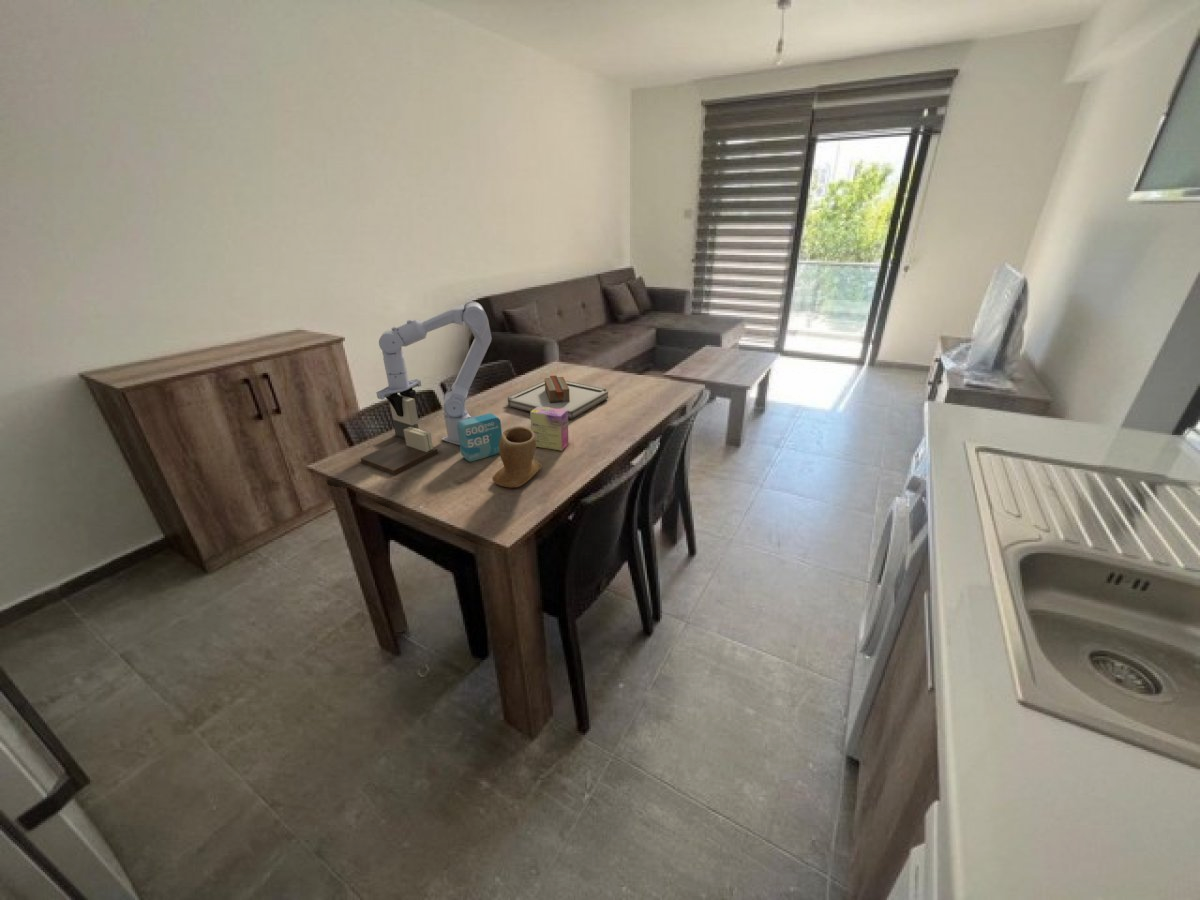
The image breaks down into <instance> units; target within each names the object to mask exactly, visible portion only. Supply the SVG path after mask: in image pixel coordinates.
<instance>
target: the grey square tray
mask: <svg viewBox="0 0 1200 900" xmlns="http://www.w3.org/2000/svg"><path fill="white" fill-rule="evenodd" d="M607 399H609V392H608V391H607V388H603V387H599V386H598V387H597V386H593V385H588V384H584V383H578V382H574V381H570V380H565V378H564V376H557V375H550V376H549V377H545V378H544V380H543V381H540V382H539V383H536V384H534V385H531V386H530V387H527V388H525V389H522V390H519V391H518V392H515V393H513V394H511V395H508V396H507V404H508V407H510V408H514V409H518V410H520V411H521V410H522V411H526V412H529V413H530V412H531V411H532V410H534V409H535V408H536V407H538V406H540V407H547V408H554V409H562V410H568V419H569V420H572V419H574V418H575V417H578V416H579V415H581V414H583V413H584V412H586V411H588V410H589V409H592V408H593V407H595V406H597V405H599V404H601V403H602V402H603V401H605V400H607Z"/></svg>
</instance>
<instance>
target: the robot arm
mask: <svg viewBox="0 0 1200 900" xmlns="http://www.w3.org/2000/svg"><path fill="white" fill-rule="evenodd" d="M463 323H464V324H465V325H466V326H467V328H468V329H470V330H471V333H472V335H473V337H474V339H473V341H472V343H471V345H470V347H469V349H468V352H467V354H466V357H465V358H464V360H463V362H462V365H461V367H460V370H459V372H458V374H457V376H456V378H455V381H454V382H453V383H452V385H451V387H450V389H448V390H447V391H445V393H444V396H443V411H444V412H443V416H444V422H445V429H446V434H447V435H446V436H444V437H442V438H441V440H442V441H445V442H447V443H451V444H454V445H458V446H460V443H459V437H458V430H457V424H458V422H459V421H461V420H465V419H469V418H473V417H474V416H471V415H470V414H469V413H468V409H467V408H466V405H465V403H466V400H467V397H468V393H469V390H470V389H471V386H472V385H473V382H474V379H475V377H476V375H477V373H478V371H479V369H480V367H481V364H482V362H483V361H484V358H485V356H486V354H487V351H488V349H489V347H490V345H491V343H492V339H493V337H492V333H491V332H492V331H491V327H490V323H489V318H488V315H487V312H486V311H485V309H484V307H483V306H482V304H480V303H479V302H477V301H468V302H466V303H465V304H462V303H461V304H458V305H456V306H454V307H451V308H448V309H447V310H444V311H443V312H442V311H441V313H438V314H436V315H434V316H432V317H430V318H428V319H425V320H423V321H421V320H418V319H413V320H412V319H408V320H406V323H405V324H402V325H400V326H397V327H395V326H393V327H391V329H388V330H385V331H384V332H383V333H382V334H381V336H380V337H379V340H378V346H379V348H380V350H381V351H382V357H383V359H382V360H383V365H384V370H385V374H386V379H387V384H388V385H387V386H386V387H383V388H382V389H381V390H378V391H376V398H377V400H378V399H379V400H384V399H386V400H387V401H388V403H389V404H390V403H391V404H392V406H393V408H394V409H395V411H396V414H397V416H401V417H402V416H403V408H402V398H403V397H402V396H406V397H410V398H413V399H415V396H416V394H417V392H416V390H415V389H414V388H416V387H418V388H419V387H422V380H421V379H417V378H416V379H412V380H409V377H408V371H407V367H406V366H407V365H406V361H405V356H404V352H403V347H406V348H407V347H408V346H410V345H411V346H412V345H413V344H415V343H417V342H420V341H423V340H425V339H426V338H427V335H428V333H429V332H432V331H435V330H437V329H439V328H443V327H445V326H448V325H450V324H455V325H459V326H463ZM399 395H402V396H399Z"/></svg>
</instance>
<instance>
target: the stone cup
mask: <svg viewBox="0 0 1200 900" xmlns="http://www.w3.org/2000/svg"><path fill="white" fill-rule="evenodd" d="M536 450H537V447H536V436H535V433H534V432H533V431H532V430H531V428H529V427H527V426H522V425H521V426H520V425H519V426H517V425H516V426H512V427H508V428H506V429H505V430H504V431H502V435H501V437H500V442H499V452H500V453H499V456H500V459H501V462H502V464H503V466H502V467H501V468H500V469H499V470H497V472H495V473H494V474H493V476H492V478H491V479H492V481H493V482H494V483H495V484H496V485H498V486H501V487H504V488H519V487H522V486H523V485H525V484H526V483H528V482H529V481H530V480H531V479H532V478H533V477H534V476H535V475H536V474H537V473H538V472H539V471H540V470H541V469H542V468H543V466H542V464H541V463H540V462H539V461H538V460H537V459H535V458H534V456H535V453H536Z"/></svg>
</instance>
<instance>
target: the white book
mask: <svg viewBox="0 0 1200 900" xmlns="http://www.w3.org/2000/svg"><path fill="white" fill-rule="evenodd" d="M399 396H402V395H400V394H399ZM402 397H403V398H402V408H403V416H402V417H401V416H397V414H396V411H395V409H394V408H393V406H392V404H391V403H390V402H389V407H390V412H391V417H392V419H393V420H396V421H400V422H403V423H406V424H409V425H414V424H417V423H418V424H419V422H420V421H419V416H418V410H417V406H416V405H417V404H416V400H415V398H414V399H413V398H410V397H406V396H402ZM393 420H392V421H393Z"/></svg>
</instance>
